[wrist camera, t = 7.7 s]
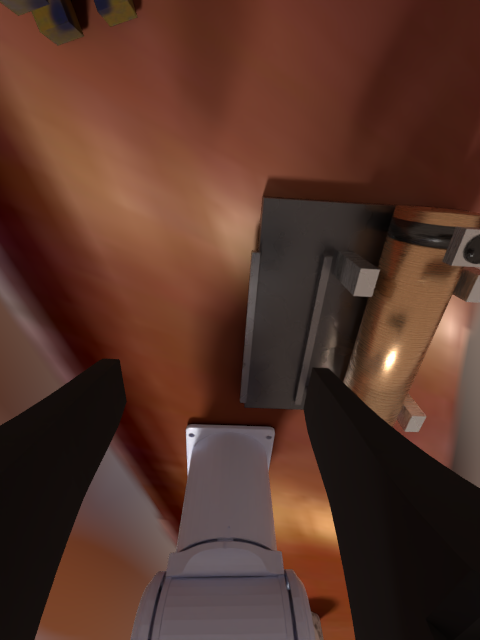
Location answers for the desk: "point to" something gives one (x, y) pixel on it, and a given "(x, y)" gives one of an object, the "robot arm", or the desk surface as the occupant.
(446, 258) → the aperture bracket
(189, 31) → the desk surface
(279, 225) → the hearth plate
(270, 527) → the robot arm
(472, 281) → the small blocks
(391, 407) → the tube
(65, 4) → the pipe connector
